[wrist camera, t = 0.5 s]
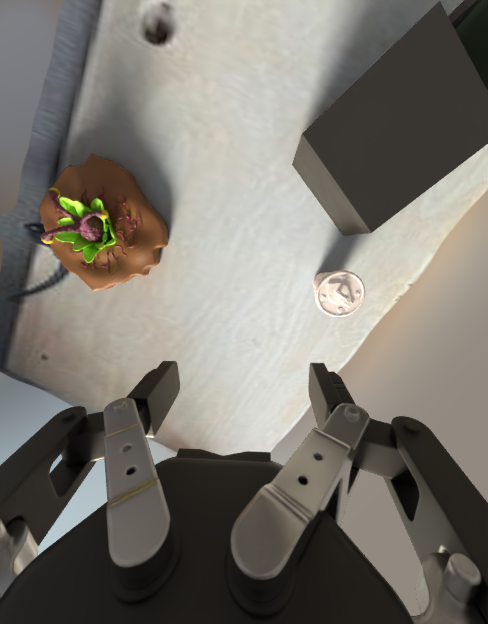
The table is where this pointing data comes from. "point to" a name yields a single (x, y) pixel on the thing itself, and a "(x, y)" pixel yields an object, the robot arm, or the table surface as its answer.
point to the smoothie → (338, 292)
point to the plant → (102, 224)
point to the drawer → (473, 33)
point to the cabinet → (396, 128)
